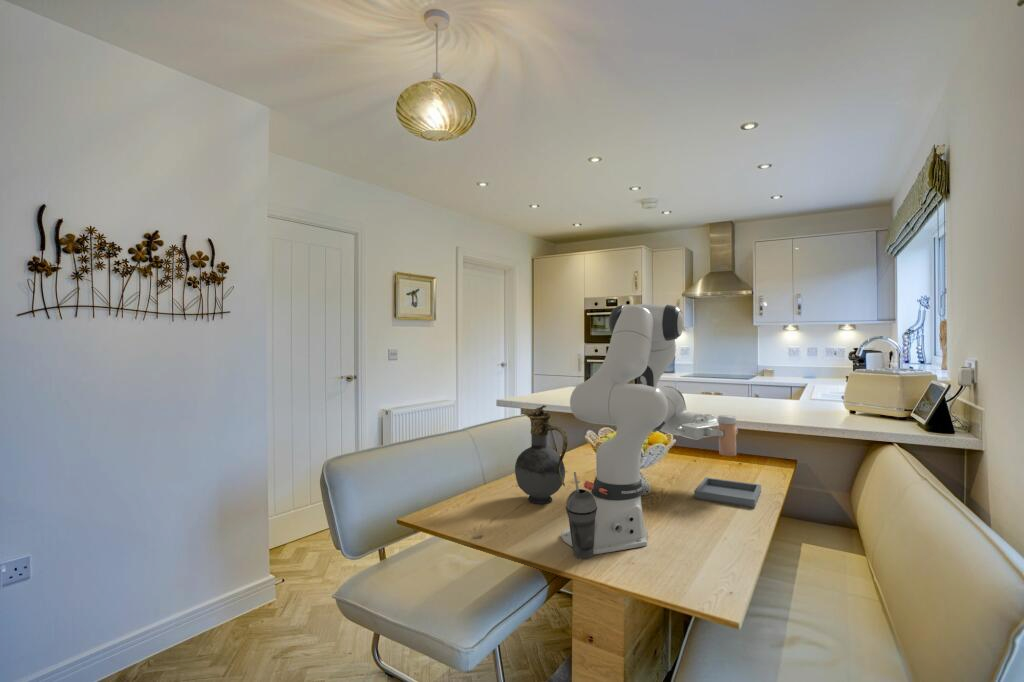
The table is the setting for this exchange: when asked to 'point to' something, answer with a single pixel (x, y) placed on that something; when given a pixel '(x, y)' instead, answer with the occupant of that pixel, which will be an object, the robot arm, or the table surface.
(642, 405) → the robot arm
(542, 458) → the pitcher
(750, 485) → the tray
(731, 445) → the shaker
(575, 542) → the beverage cup
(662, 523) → the table surface
